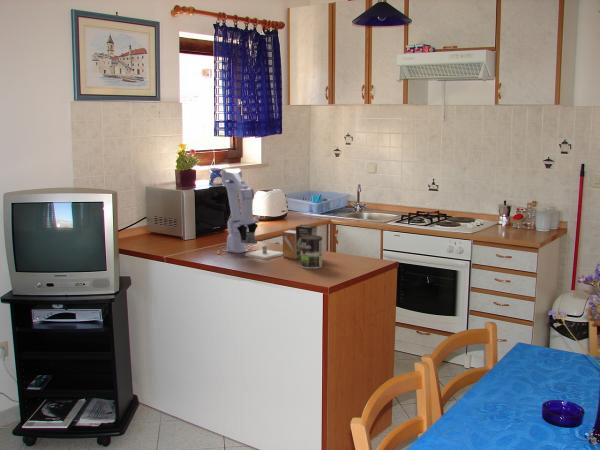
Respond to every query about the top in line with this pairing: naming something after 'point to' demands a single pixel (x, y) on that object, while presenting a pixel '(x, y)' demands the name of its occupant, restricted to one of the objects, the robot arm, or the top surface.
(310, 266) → the coffee can
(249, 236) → the jaw block
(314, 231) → the coffee box
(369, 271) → the top surface
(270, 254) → the pin plate
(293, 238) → the small box
